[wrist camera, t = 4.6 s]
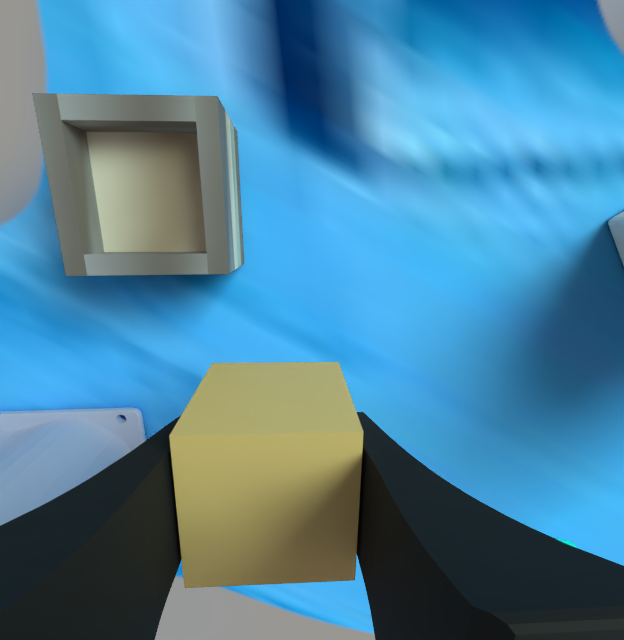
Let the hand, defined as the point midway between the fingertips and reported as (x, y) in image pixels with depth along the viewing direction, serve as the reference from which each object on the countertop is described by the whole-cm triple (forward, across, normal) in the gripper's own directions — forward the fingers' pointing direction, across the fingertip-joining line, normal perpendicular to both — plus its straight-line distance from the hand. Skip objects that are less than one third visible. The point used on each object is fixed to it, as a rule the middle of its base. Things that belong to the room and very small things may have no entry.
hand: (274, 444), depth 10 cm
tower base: (+9, +5, -7) cm, 13 cm away
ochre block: (+1, 0, 0) cm, 1 cm away
